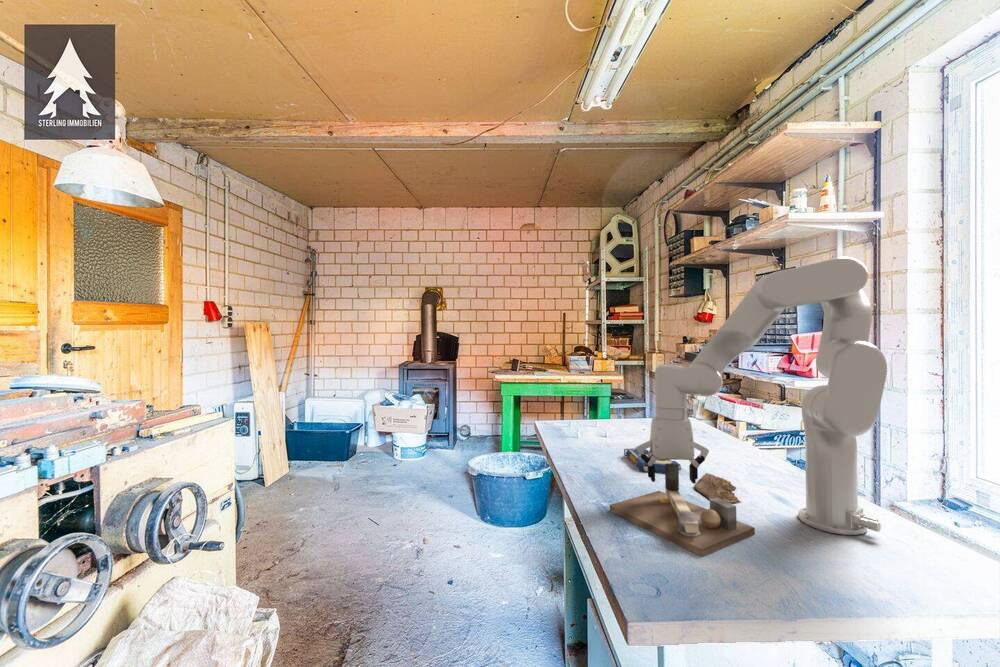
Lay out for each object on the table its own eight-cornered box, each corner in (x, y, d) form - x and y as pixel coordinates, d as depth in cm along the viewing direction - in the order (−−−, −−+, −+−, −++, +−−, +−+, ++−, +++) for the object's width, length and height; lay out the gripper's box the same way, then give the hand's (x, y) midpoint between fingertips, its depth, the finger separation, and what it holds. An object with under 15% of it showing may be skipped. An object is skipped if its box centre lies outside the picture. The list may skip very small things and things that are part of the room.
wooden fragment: (742, 509, 110) (742, 504, 110) (694, 503, 114) (694, 499, 114) (731, 476, 134) (731, 473, 134) (692, 473, 138) (691, 470, 138)
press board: (754, 534, 96) (754, 504, 96) (702, 556, 87) (701, 524, 87) (659, 496, 119) (658, 472, 119) (609, 510, 110) (609, 485, 110)
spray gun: (663, 454, 157) (622, 456, 157) (663, 443, 157) (622, 445, 157) (690, 475, 136) (643, 478, 136) (690, 462, 136) (642, 464, 136)
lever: (702, 535, 91) (702, 495, 91) (682, 534, 92) (681, 494, 92) (678, 495, 113) (678, 463, 113) (662, 495, 113) (662, 462, 113)
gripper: (703, 411, 113) (704, 477, 113) (634, 410, 116) (635, 474, 116) (712, 417, 106) (713, 487, 106) (637, 416, 109) (638, 484, 109)
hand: (672, 480), depth 111 cm, fingers open, 9 cm apart
